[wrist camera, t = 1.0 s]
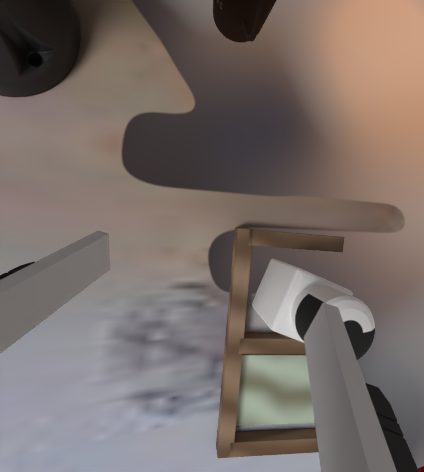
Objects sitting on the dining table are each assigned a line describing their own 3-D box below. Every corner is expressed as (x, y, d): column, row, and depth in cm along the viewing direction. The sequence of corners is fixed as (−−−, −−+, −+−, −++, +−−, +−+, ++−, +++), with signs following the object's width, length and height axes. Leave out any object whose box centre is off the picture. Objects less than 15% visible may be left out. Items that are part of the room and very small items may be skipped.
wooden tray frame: (235, 228, 28) (238, 228, 27) (336, 236, 30) (344, 237, 29) (216, 446, 30) (217, 458, 28) (314, 441, 32) (320, 451, 30)
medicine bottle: (295, 323, 30) (367, 387, 18) (249, 305, 29) (295, 360, 17) (315, 276, 30) (400, 310, 18) (271, 256, 29) (330, 279, 17)
